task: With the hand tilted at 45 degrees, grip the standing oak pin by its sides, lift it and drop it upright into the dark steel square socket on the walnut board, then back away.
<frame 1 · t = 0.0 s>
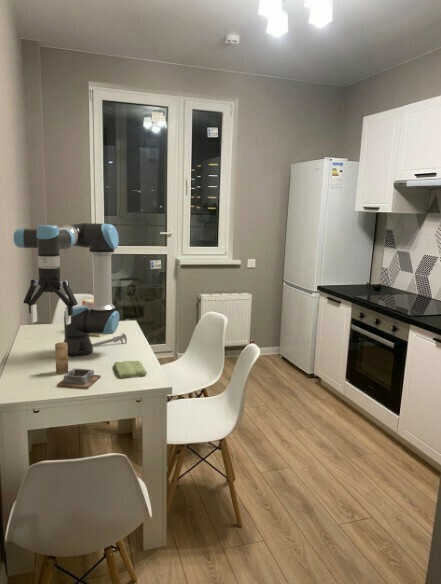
hand: (51, 323, 164), 28 cm above the table, tool pointing down, fingers open, 13 cm apart
coffeecake box: (95, 334, 253), on the table
socket board: (79, 381, 180), on the table
oak pin: (62, 372, 190), on the table
caliper: (107, 345, 232), on the table
washcloth: (129, 372, 194), on the table
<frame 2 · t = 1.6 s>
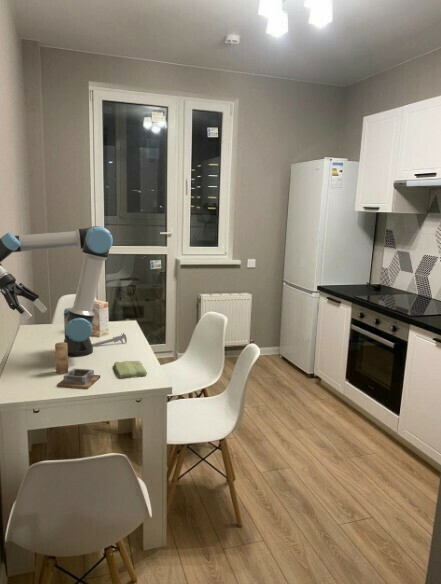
hand: (37, 314, 186), 26 cm above the table, tool tilted 45°, fingers open, 13 cm apart
nothing on the table moved.
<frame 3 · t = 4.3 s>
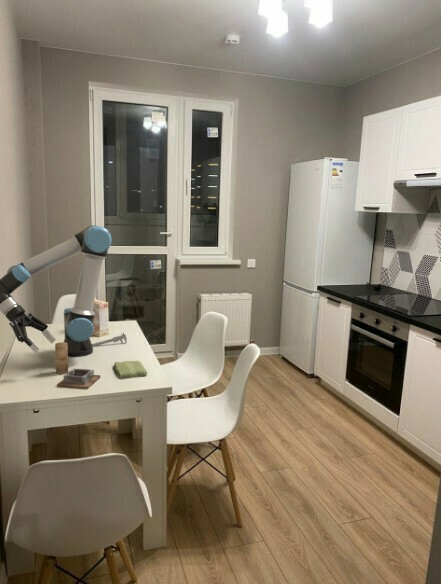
hand: (46, 345, 188), 12 cm above the table, tool tilted 45°, fingers open, 13 cm apart
nothing on the table moved.
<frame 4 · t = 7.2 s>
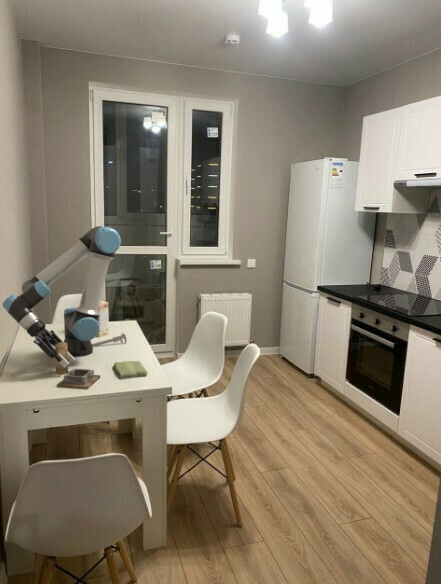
hand: (70, 363, 189), 4 cm above the table, tool tilted 45°, fingers closed on oak pin, 5 cm apart
oak pin: (62, 372, 190), on the table, touching gripper
everything else where it was.
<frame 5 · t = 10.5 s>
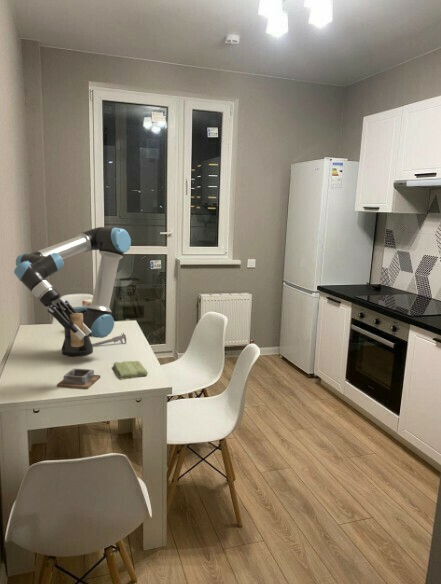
hand: (86, 335, 176), 20 cm above the table, tool tilted 45°, fingers closed on oak pin, 5 cm apart
oak pin: (77, 345, 177), point 16 cm above the table, touching gripper
everything else where it was.
when the fingers open (7 cm above the table, at t = 13.9 s): oak pin drops 1 cm, resting on socket board.
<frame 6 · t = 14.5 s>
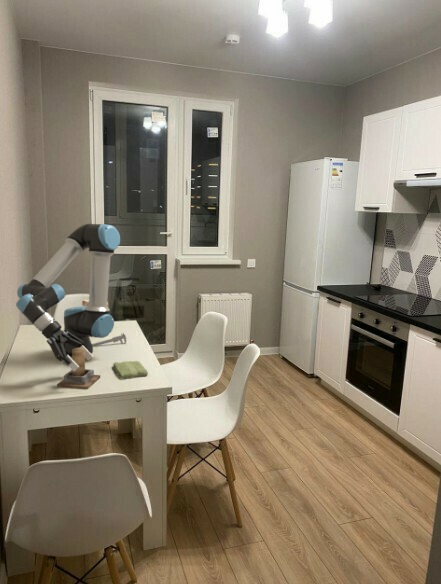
hand: (84, 363, 178), 8 cm above the table, tool tilted 45°, fingers open, 13 cm apart
oak pin: (78, 379, 180), point 1 cm above the table, touching socket board
everything else where it was.
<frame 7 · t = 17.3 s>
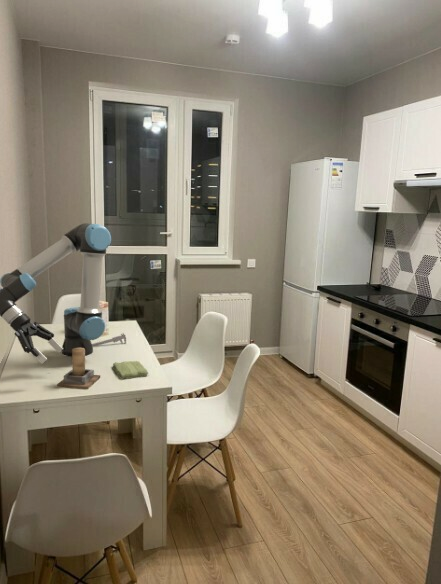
hand: (53, 355, 179), 11 cm above the table, tool tilted 45°, fingers open, 13 cm apart
nothing on the table moved.
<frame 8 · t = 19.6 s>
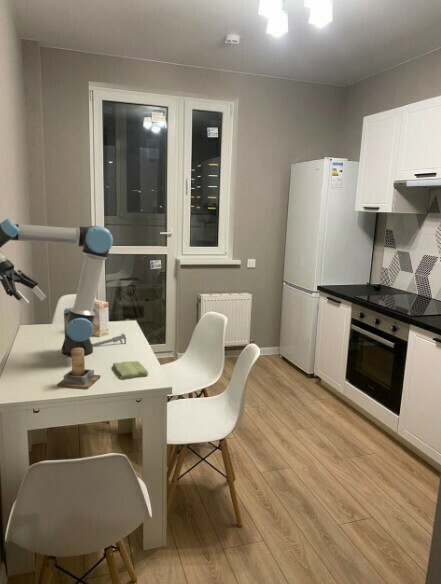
hand: (35, 301, 184), 32 cm above the table, tool tilted 45°, fingers open, 13 cm apart
nothing on the table moved.
at the end: oak pin 0.1 cm off-centre on the socket board, point 1.0 cm above the socket board's base; oak pin tilted 1°; the gripper is holding nothing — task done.
